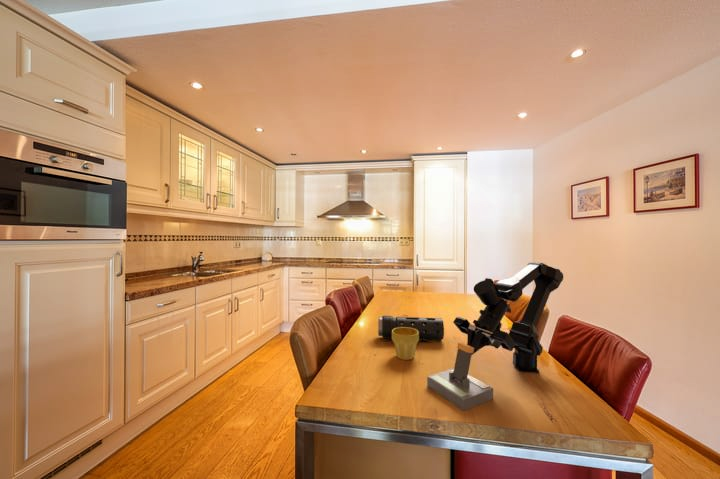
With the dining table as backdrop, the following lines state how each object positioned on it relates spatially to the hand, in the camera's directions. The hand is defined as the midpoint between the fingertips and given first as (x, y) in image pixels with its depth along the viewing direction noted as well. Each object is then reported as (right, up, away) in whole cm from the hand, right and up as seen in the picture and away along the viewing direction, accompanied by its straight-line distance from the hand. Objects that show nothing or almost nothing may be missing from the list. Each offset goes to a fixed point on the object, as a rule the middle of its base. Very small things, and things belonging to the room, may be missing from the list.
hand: (468, 355), depth 85 cm
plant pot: (-15, -10, +23) cm, 29 cm away
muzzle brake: (-11, -10, +40) cm, 43 cm away
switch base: (-3, -10, -2) cm, 11 cm away
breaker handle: (-3, -7, -2) cm, 8 cm away
